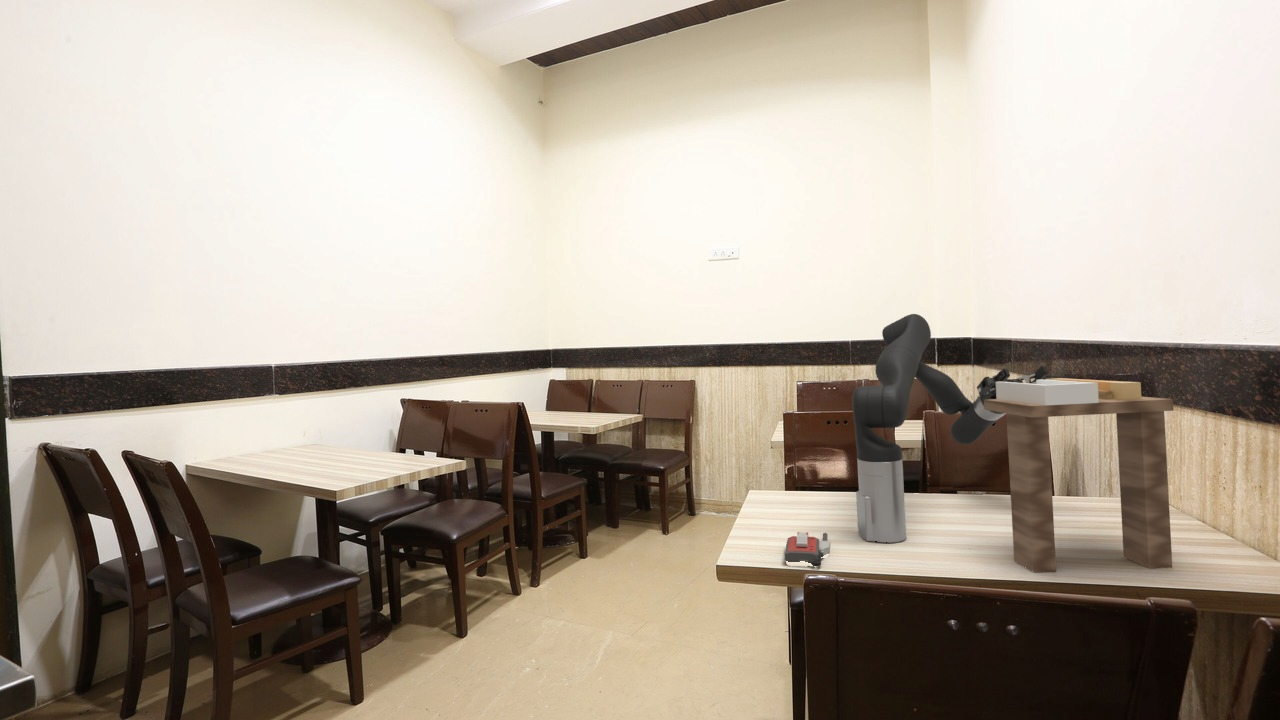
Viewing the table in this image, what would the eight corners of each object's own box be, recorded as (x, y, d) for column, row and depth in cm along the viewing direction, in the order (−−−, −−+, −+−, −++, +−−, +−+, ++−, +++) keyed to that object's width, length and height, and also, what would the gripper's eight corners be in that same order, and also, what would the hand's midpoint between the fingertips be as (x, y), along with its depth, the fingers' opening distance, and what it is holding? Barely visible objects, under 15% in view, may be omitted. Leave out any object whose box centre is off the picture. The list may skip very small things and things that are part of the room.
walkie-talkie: (831, 572, 116) (830, 540, 135) (829, 549, 116) (829, 520, 135) (783, 570, 118) (789, 539, 137) (782, 547, 118) (788, 519, 137)
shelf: (1040, 576, 107) (1030, 397, 107) (991, 548, 123) (983, 392, 123) (1181, 571, 106) (1172, 390, 106) (1114, 543, 122) (1106, 386, 122)
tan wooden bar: (1122, 400, 109) (1122, 383, 109) (1046, 392, 131) (1045, 378, 131) (1141, 399, 108) (1140, 382, 108) (1061, 392, 130) (1060, 378, 130)
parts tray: (1045, 405, 107) (1044, 385, 107) (996, 399, 123) (995, 381, 123) (1098, 402, 106) (1097, 382, 106) (1042, 396, 122) (1041, 379, 122)
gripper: (962, 389, 156) (989, 358, 142) (1019, 386, 156) (1052, 354, 142) (971, 416, 153) (999, 386, 139) (1029, 413, 152) (1064, 383, 138)
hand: (1026, 370), depth 140 cm, fingers open, 8 cm apart
